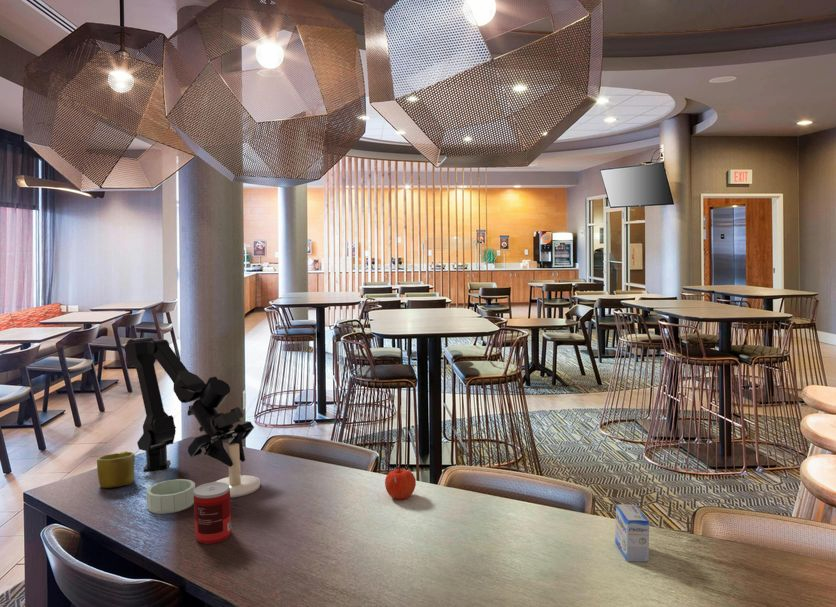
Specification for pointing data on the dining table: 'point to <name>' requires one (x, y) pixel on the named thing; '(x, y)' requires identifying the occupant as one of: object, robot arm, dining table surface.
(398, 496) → the apple
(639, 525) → the medicine box
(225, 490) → the canned food
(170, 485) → the bowl
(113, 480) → the mug
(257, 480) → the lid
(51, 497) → the dining table surface
